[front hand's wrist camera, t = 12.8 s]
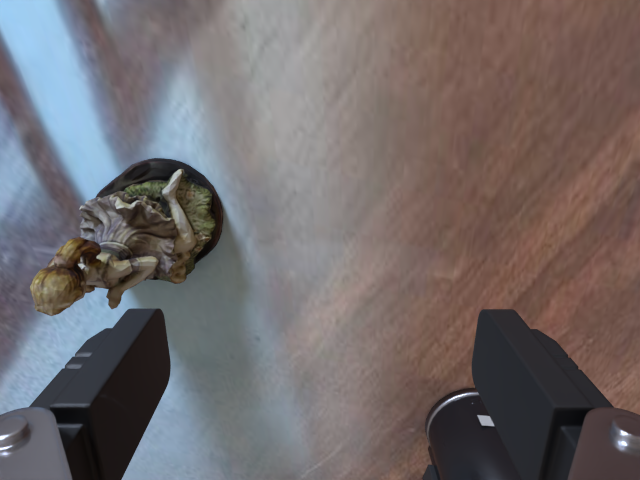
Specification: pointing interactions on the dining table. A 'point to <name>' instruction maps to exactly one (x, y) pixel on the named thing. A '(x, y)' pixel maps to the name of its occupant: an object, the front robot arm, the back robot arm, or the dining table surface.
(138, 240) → the figurine
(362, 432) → the dining table surface
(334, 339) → the dining table surface
